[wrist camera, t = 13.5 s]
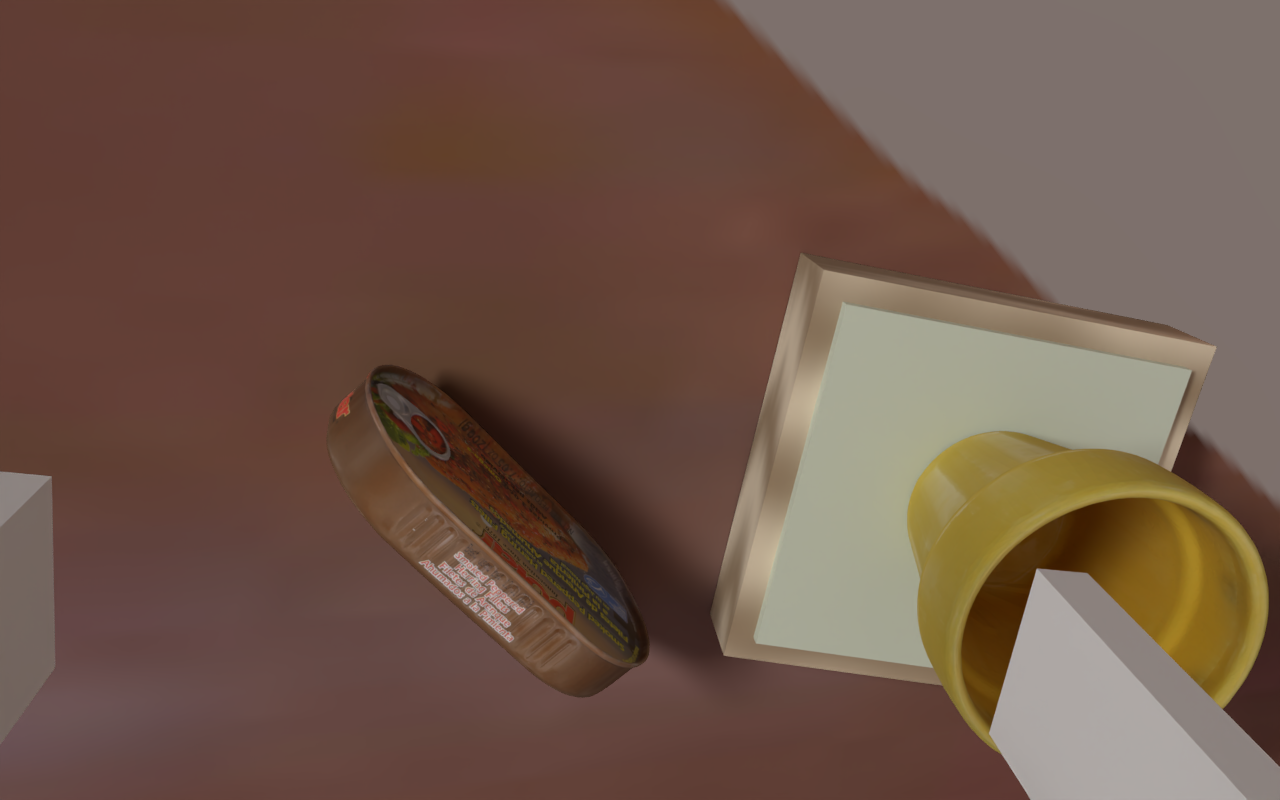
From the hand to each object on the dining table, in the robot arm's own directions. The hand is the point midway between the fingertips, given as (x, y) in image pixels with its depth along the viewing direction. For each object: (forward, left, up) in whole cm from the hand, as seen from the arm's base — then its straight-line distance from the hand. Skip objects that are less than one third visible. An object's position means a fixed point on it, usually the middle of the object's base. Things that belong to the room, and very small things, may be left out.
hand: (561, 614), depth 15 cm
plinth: (+6, +18, -29) cm, 35 cm away
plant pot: (+6, +19, -26) cm, 32 cm away
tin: (+10, 0, -30) cm, 31 cm away
